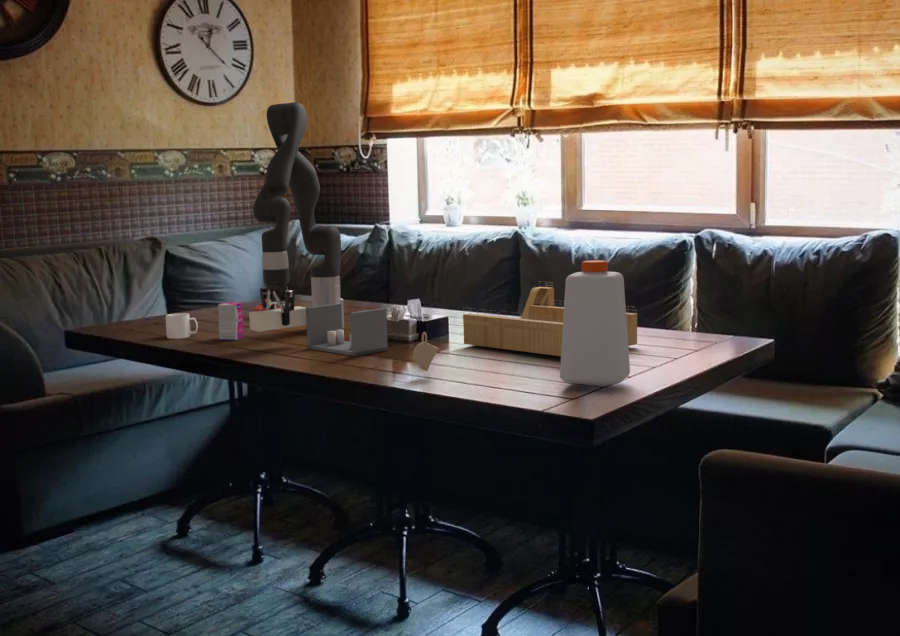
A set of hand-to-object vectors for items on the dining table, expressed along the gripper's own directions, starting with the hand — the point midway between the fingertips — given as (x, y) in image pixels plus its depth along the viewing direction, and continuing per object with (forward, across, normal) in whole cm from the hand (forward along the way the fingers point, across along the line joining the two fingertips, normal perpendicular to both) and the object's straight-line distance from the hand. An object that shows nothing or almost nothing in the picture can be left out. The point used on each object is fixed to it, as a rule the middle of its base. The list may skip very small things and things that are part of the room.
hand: (279, 324), depth 296 cm
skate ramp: (+8, -61, -52) cm, 81 cm away
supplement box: (+8, +26, 0) cm, 27 cm away
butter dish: (+9, +50, -31) cm, 59 cm away
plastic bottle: (+7, -100, -18) cm, 102 cm away
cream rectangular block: (+1, 0, 0) cm, 1 cm away
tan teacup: (+7, -60, -1) cm, 60 cm away
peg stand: (+7, -18, -10) cm, 22 cm away
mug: (+8, +42, +7) cm, 44 cm away
